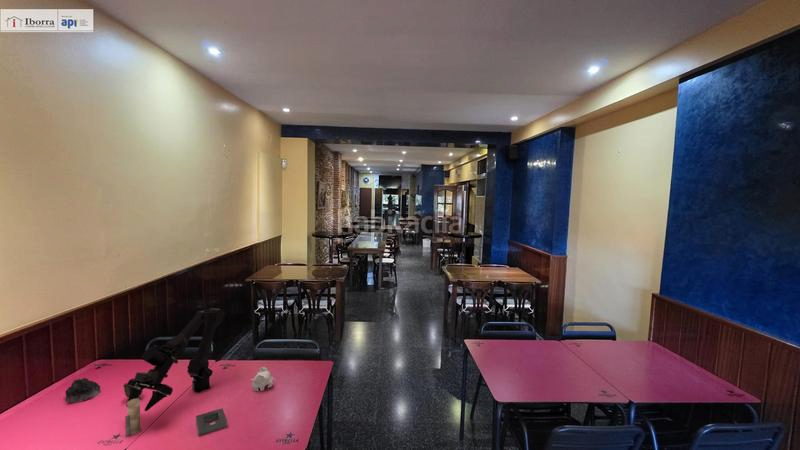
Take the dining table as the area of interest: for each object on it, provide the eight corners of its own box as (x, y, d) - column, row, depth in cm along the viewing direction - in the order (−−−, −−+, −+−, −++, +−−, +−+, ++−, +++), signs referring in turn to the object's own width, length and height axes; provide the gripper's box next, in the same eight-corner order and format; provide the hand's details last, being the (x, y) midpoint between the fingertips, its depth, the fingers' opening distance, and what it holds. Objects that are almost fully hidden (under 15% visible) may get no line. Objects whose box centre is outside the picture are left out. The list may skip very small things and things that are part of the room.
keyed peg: (135, 427, 142) (134, 397, 141) (143, 429, 141) (142, 399, 140) (122, 435, 137) (121, 404, 136) (130, 437, 136) (129, 406, 135)
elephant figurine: (273, 392, 170) (273, 374, 169) (247, 394, 168) (247, 376, 167) (277, 382, 179) (277, 365, 179) (252, 384, 177) (252, 367, 177)
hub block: (196, 422, 146) (195, 415, 145) (222, 414, 151) (222, 407, 151) (198, 436, 137) (198, 428, 137) (226, 427, 143) (226, 419, 143)
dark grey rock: (87, 388, 172) (83, 369, 171) (110, 389, 169) (106, 369, 168) (56, 405, 159) (52, 385, 158) (80, 406, 156) (76, 386, 155)
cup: (133, 405, 157) (132, 387, 157) (119, 402, 159) (119, 385, 158) (148, 396, 165) (147, 379, 164) (135, 394, 166) (134, 377, 166)
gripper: (130, 359, 146) (103, 399, 136) (166, 365, 142) (140, 407, 132) (148, 369, 155) (123, 407, 144) (182, 375, 150) (159, 415, 140)
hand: (136, 409), depth 140 cm, fingers open, 9 cm apart
